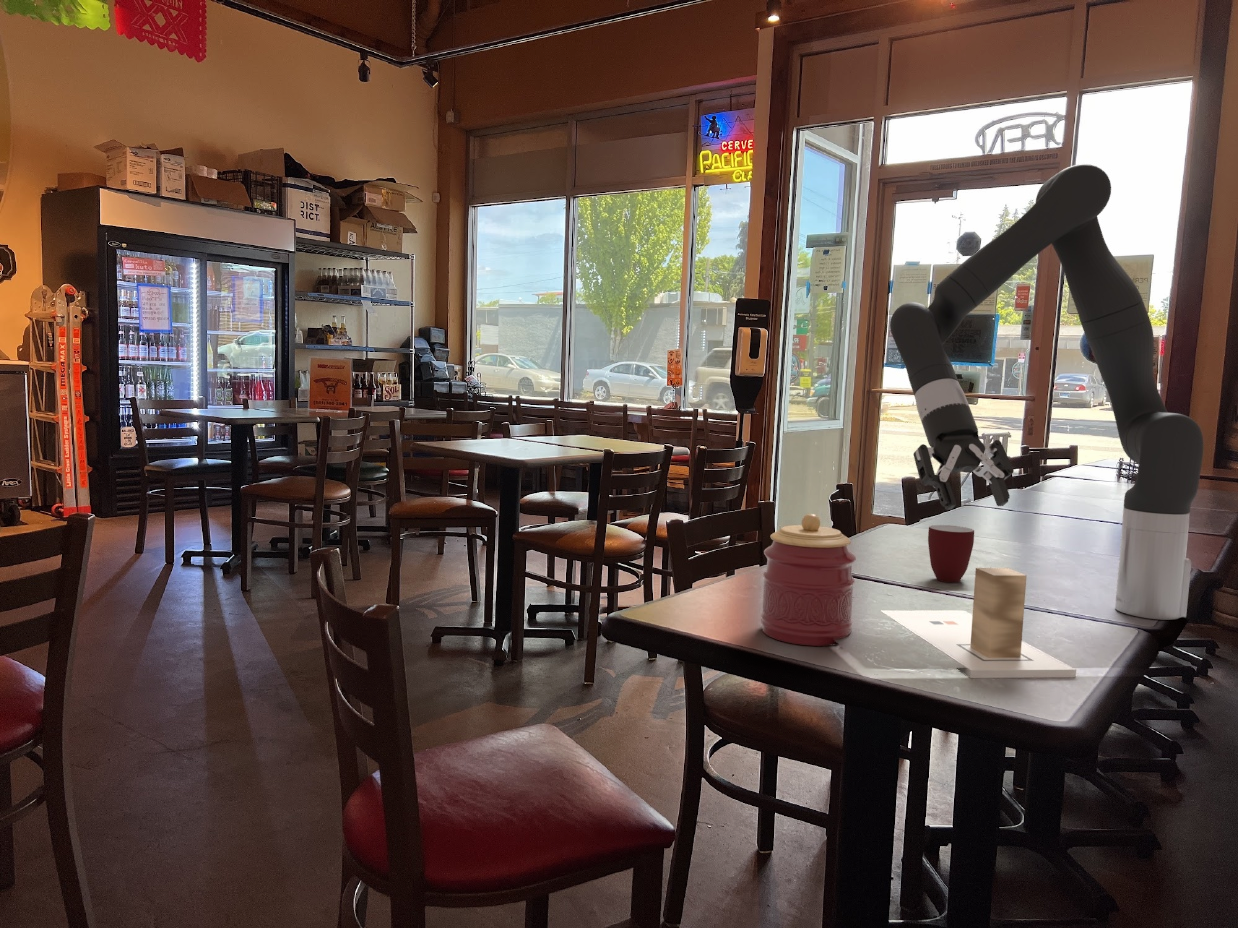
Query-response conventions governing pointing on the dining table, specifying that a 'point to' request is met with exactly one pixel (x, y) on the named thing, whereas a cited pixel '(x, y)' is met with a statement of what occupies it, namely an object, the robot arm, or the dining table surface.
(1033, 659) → the board
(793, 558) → the canister
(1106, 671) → the dining table surface
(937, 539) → the mug
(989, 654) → the oak block
